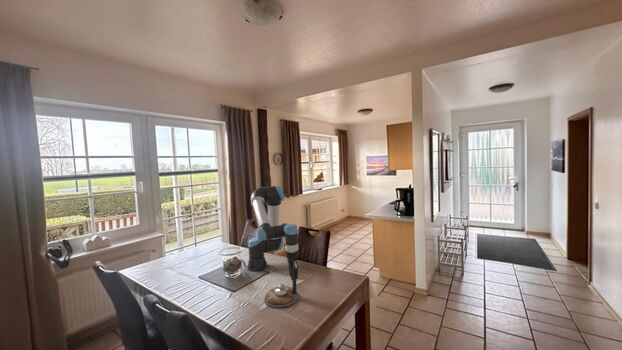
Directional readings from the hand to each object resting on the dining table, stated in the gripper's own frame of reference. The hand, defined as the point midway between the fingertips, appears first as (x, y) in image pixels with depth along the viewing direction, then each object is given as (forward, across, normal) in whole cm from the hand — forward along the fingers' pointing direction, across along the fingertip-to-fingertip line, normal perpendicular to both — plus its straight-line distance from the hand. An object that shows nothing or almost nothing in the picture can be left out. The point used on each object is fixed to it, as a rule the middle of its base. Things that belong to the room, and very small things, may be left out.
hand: (294, 289), depth 149 cm
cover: (+2, -2, -7) cm, 8 cm away
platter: (+3, -2, -8) cm, 8 cm away
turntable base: (+4, -2, -8) cm, 9 cm away
